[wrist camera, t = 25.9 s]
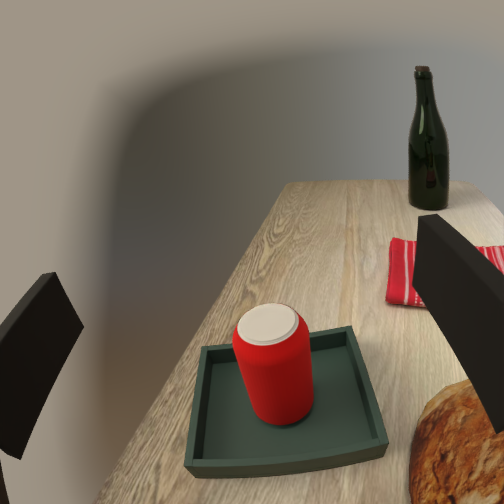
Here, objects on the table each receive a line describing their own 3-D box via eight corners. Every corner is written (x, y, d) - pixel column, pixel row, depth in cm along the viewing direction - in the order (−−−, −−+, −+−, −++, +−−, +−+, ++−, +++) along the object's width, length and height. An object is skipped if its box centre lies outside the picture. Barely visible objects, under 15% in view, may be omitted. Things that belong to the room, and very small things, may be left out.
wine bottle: (453, 210, 61) (450, 66, 45) (413, 211, 64) (405, 63, 48) (440, 195, 70) (435, 68, 54) (404, 196, 72) (395, 66, 57)
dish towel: (390, 247, 53) (390, 234, 52) (506, 255, 42) (509, 242, 41) (381, 307, 40) (382, 292, 39) (529, 318, 29) (535, 303, 28)
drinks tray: (195, 478, 23) (183, 466, 22) (208, 364, 37) (201, 346, 36) (383, 456, 22) (389, 442, 20) (350, 344, 36) (351, 325, 34)
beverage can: (324, 392, 30) (321, 305, 24) (294, 439, 25) (280, 361, 20) (275, 374, 33) (257, 289, 27) (242, 415, 29) (211, 334, 23)
